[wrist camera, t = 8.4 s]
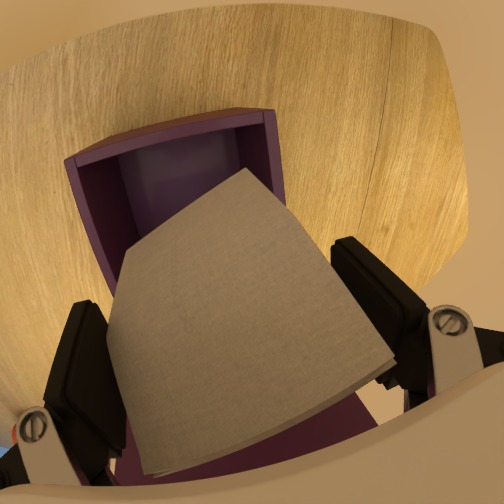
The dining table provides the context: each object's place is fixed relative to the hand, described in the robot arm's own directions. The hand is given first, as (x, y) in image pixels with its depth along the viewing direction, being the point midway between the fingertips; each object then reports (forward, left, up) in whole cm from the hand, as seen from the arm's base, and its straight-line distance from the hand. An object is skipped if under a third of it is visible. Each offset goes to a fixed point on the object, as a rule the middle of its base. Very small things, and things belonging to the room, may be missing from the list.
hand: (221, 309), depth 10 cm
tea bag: (0, 0, -6) cm, 6 cm away
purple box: (+3, -1, -24) cm, 24 cm away
